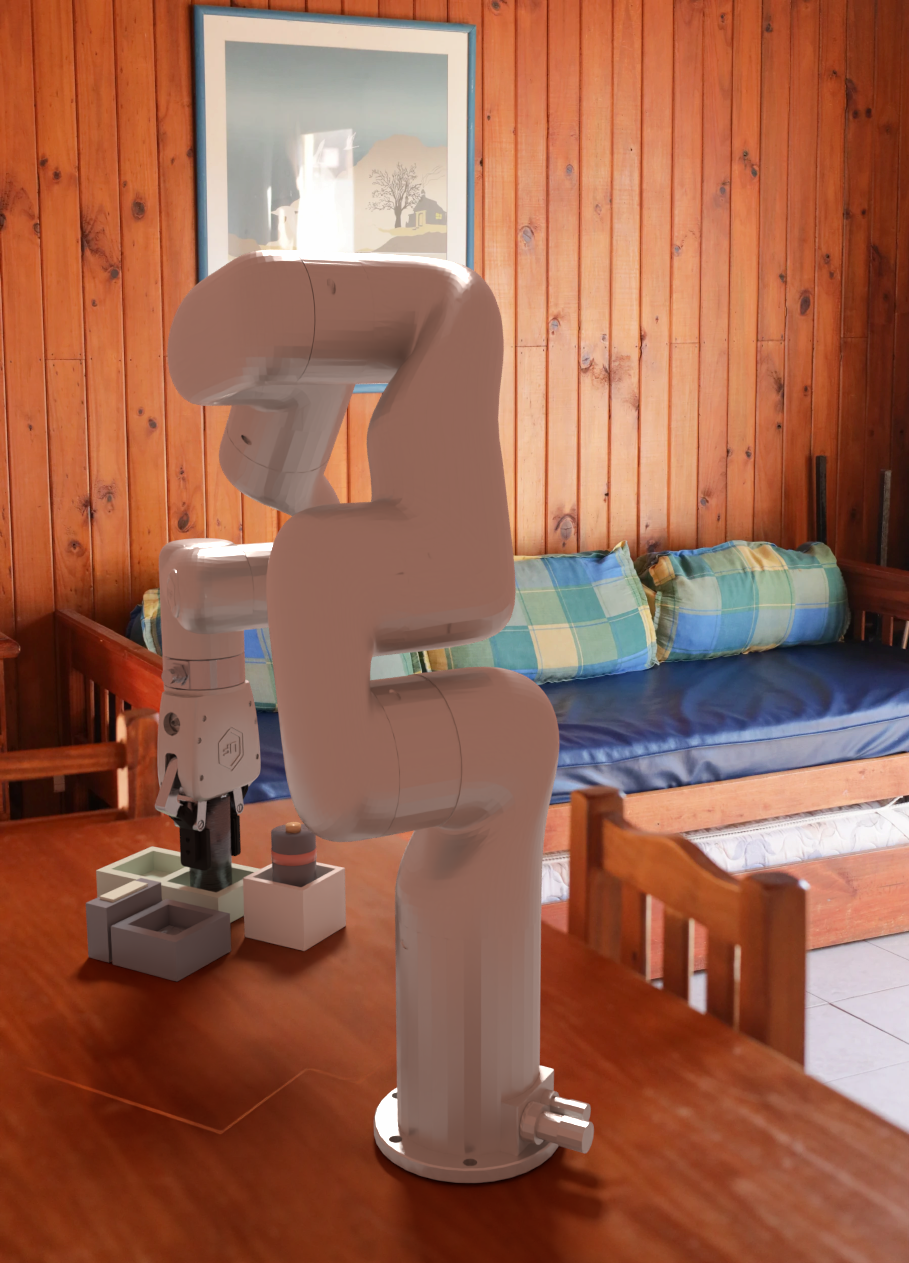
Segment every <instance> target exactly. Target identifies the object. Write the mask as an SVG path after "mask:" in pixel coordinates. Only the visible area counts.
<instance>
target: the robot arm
mask: <svg viewBox="0 0 909 1263" xmlns="http://www.w3.org/2000/svg"><path fill="white" fill-rule="evenodd" d="M502 319H503V318H502V315H501V312H500V308H499V305H498V302H497V299H496V297H495V295H494V291H493V290H492V289H491V287H490V285H489V284H488V283H487V282H486V280H485V279H484V278H483V277H482V276H481V274H479V273H478V272H477V271H475V270H473V269H472V268H470V267H468V266H466V265H463V264H461V263H458V262H454V261H450V260H447V259H439V258H433V257H432V258H431V257H425V256H414V255H413V256H412V255H400V254H383V253H364V252H362V253H360V252H358V253H357V252H356V253H354V252H353V253H351V252H350V253H348V252H346V253H345V252H325V251H310V250H304V251H303V250H290V249H287V250H286V249H285V250H284V249H266V250H265V249H264V250H263V249H262V250H256V251H255V250H254V251H251V252H246V253H244V254H240V255H239V256H238V257H236V258H233V259H232V260H230V261H229V262H228V263H226V264H224V265H223V266H221V267H220V268H218V269H216V270H215V271H214V272H213V273H211V274H209V275H208V276H206V277H204V278H203V279H202V280H201V281H199V282H198V283H197V284H195V285H194V286H193V287H192V288H190V290H189V291H188V293H186V295H185V296H184V298H183V299H182V301H181V302H180V304H179V305H178V308H177V310H176V312H175V314H174V316H173V319H172V323H171V325H170V328H169V333H168V338H167V351H166V353H167V365H168V372H169V376H170V378H171V383H172V384H173V386H174V388H175V389H176V391H177V393H178V394H179V395H180V396H181V397H182V399H183V400H186V401H187V402H189V403H190V404H192V405H197V406H202V407H203V406H206V407H208V406H209V407H210V406H212V407H213V406H215V407H216V406H218V407H219V406H224V407H225V406H230V410H229V414H228V416H227V417H228V418H227V420H226V423H225V427H224V431H223V434H222V438H221V441H220V445H219V448H218V449H219V450H218V462H219V465H220V468H221V471H222V472H223V475H224V476H225V477H226V479H227V481H228V482H230V484H231V485H232V486H233V487H234V488H235V489H236V490H238V491H239V492H240V493H242V494H243V495H244V496H246V497H248V498H249V499H251V500H253V501H255V502H257V503H260V504H261V505H263V506H267V507H269V508H271V509H274V510H277V511H279V512H281V513H283V514H286V515H289V516H291V517H289V518H288V519H287V520H286V521H285V522H284V523H283V525H282V526H281V527H280V529H279V531H278V532H277V534H276V536H275V537H274V540H273V541H272V542H269V541H268V542H255V543H241V544H238V543H236V544H235V543H234V542H233V541H230V540H228V539H223V538H222V539H221V538H213V537H212V538H211V537H205V538H204V537H203V538H202V537H200V538H194V537H193V538H185V539H184V538H183V539H178V540H177V539H176V540H171V541H169V542H168V543H165V545H164V546H162V548H161V550H160V552H159V554H158V579H159V601H160V602H159V603H160V622H161V623H160V625H161V626H160V627H161V647H162V673H161V677H160V678H161V679H162V680H161V681H162V682H163V691H162V693H161V699H160V703H159V704H160V706H159V713H158V714H159V715H158V727H157V748H156V749H157V752H156V753H157V756H156V757H157V777H158V784H159V791H158V793H157V794H158V795H157V797H156V799H155V803H154V808H155V810H156V811H158V812H160V813H162V814H165V815H167V816H168V817H169V818H170V819H171V820H172V821H173V825H174V826H175V827H177V828H179V830H178V831H179V850H180V851H179V852H180V857H181V864H182V865H183V866H185V867H189V868H194V869H199V870H203V871H206V870H208V869H210V867H211V849H210V830H209V829H208V828H204V827H205V818H206V804H207V800H210V799H213V798H215V797H218V796H220V795H223V794H225V793H228V794H229V795H230V820H231V854H232V857H237V856H240V855H241V853H242V852H241V851H242V850H241V849H242V848H241V844H242V843H241V817H240V814H242V813H243V812H244V808H245V804H244V799H245V797H246V795H247V793H248V790H249V787H250V786H251V785H252V783H253V782H254V781H255V780H256V779H257V778H258V777H259V775H260V773H261V747H260V735H259V734H260V733H259V725H258V716H257V710H256V705H255V699H254V698H255V697H254V695H253V691H252V690H253V689H252V687H251V684H250V681H249V680H247V679H246V659H245V658H246V655H245V650H246V649H245V631H246V630H247V631H248V630H249V631H250V630H256V629H267V628H268V631H269V634H268V635H269V642H270V643H269V644H270V649H271V658H272V665H273V666H272V668H273V676H274V685H275V695H276V701H277V702H276V703H277V704H276V705H277V712H278V713H277V714H278V722H279V730H280V731H279V732H280V738H281V739H280V740H281V741H280V742H281V747H282V754H283V755H282V756H283V763H284V772H285V776H286V781H287V782H286V783H287V787H288V791H289V794H290V798H291V801H292V804H293V807H294V809H295V812H296V813H297V815H298V818H299V819H300V820H301V822H302V824H304V825H305V826H306V827H307V828H308V829H309V830H310V831H311V832H312V833H313V834H315V835H316V837H318V838H321V839H322V840H326V841H329V842H332V843H333V842H334V843H348V842H349V843H351V842H358V841H359V842H360V841H364V840H365V841H366V840H371V839H379V838H383V837H388V836H393V835H400V834H405V833H410V832H412V835H411V836H410V838H409V841H408V843H407V845H406V846H405V850H404V852H403V855H402V857H401V860H400V863H399V867H398V870H397V875H396V880H395V887H394V918H395V919H394V921H395V922H394V925H395V926H394V928H395V929H394V931H395V932H394V933H395V935H394V936H395V940H394V941H395V943H394V944H395V1020H396V1021H395V1022H396V1026H395V1030H396V1040H395V1041H396V1088H394V1089H392V1090H391V1091H390V1092H389V1093H387V1094H386V1096H385V1097H384V1098H382V1099H381V1101H380V1102H379V1103H378V1105H377V1107H376V1108H375V1112H374V1115H373V1136H374V1139H375V1143H376V1145H377V1146H378V1147H377V1148H379V1150H380V1151H381V1153H382V1154H383V1155H384V1156H385V1157H386V1158H387V1159H388V1160H390V1161H391V1162H392V1163H394V1164H395V1165H397V1166H398V1167H400V1168H402V1169H403V1170H405V1171H407V1172H410V1173H412V1174H414V1175H417V1176H419V1177H422V1178H428V1179H431V1180H434V1181H437V1182H438V1181H440V1182H448V1183H453V1184H454V1183H455V1184H481V1183H490V1182H491V1183H492V1182H497V1181H498V1182H499V1181H501V1180H507V1179H511V1178H514V1177H517V1176H520V1175H523V1174H526V1173H528V1172H530V1171H532V1170H533V1169H535V1168H537V1167H539V1166H541V1165H542V1164H543V1163H545V1162H546V1161H548V1159H550V1158H551V1157H552V1156H553V1154H554V1153H555V1152H556V1150H557V1149H558V1148H559V1147H561V1148H564V1149H569V1150H573V1151H575V1152H579V1153H582V1154H588V1152H589V1151H590V1149H591V1146H592V1144H593V1140H594V1134H595V1128H594V1124H593V1122H592V1121H590V1117H591V1111H592V1110H591V1109H592V1108H591V1107H592V1106H591V1104H589V1103H587V1102H585V1101H584V1102H583V1101H580V1100H576V1099H573V1098H570V1099H568V1098H565V1097H561V1096H560V1095H559V1092H557V1090H556V1091H555V1090H554V1087H555V1086H554V1085H555V1084H554V1083H555V1069H554V1068H551V1067H547V1066H545V1065H540V1064H541V1062H540V1060H541V1058H540V1057H541V1056H540V1055H541V1053H540V1052H541V965H542V962H541V961H542V960H541V959H542V957H541V955H542V953H541V952H542V949H541V948H542V945H541V944H542V930H541V929H542V902H543V901H542V899H543V896H542V895H543V894H542V892H543V890H542V888H543V885H542V884H543V883H542V882H543V860H544V859H543V857H544V856H543V855H544V845H545V835H546V834H545V833H546V828H547V820H548V814H549V813H548V812H549V809H550V803H551V799H552V794H553V789H554V784H555V780H556V776H557V769H558V763H559V758H560V757H559V756H560V754H559V753H560V731H559V730H560V729H559V724H558V718H557V716H556V712H555V710H554V706H553V704H552V703H551V700H550V699H549V697H548V696H547V694H546V693H545V691H544V690H543V689H542V688H541V687H540V685H538V684H537V683H536V682H535V681H534V680H532V679H531V678H529V677H528V676H526V675H524V674H522V673H520V672H517V671H515V670H512V669H511V670H510V669H507V668H503V667H496V666H495V667H493V666H468V667H460V668H459V667H458V668H452V669H451V668H449V669H445V670H436V671H428V672H419V673H412V674H408V675H401V676H394V677H393V676H392V677H386V678H385V677H384V678H377V679H371V667H372V659H373V658H374V657H383V656H392V655H400V654H407V653H418V652H426V651H434V650H435V651H436V650H441V649H448V648H454V647H461V646H466V645H471V644H475V643H478V642H483V641H485V640H487V639H491V638H492V637H494V636H497V634H499V633H500V632H502V630H503V629H505V628H506V626H507V625H508V623H509V622H510V620H511V618H512V617H513V616H512V615H513V612H514V608H515V604H516V590H517V588H516V572H515V559H514V558H515V557H514V549H513V538H512V531H511V521H510V514H509V513H510V512H509V504H508V495H507V487H506V478H505V469H504V460H503V453H502V447H501V446H502V445H501V440H500V426H499V425H500V424H499V423H500V422H499V412H500V411H499V409H500V393H501V383H502V377H503V376H502V374H503V366H504V354H505V352H504V349H505V348H504V347H505V345H504V344H505V342H504V341H505V340H504V330H503V329H504V328H503V327H504V326H503V320H502ZM361 384H362V385H368V384H369V385H370V384H387V385H386V387H385V389H383V392H382V393H381V396H380V398H379V399H378V402H377V404H376V406H375V407H374V409H373V412H372V414H371V417H370V419H369V423H368V426H367V430H366V431H367V432H366V453H367V460H368V461H367V462H368V468H369V474H370V476H369V477H370V486H371V488H370V490H371V498H370V499H371V500H370V501H362V502H361V501H360V502H357V501H356V502H341V501H340V499H339V497H338V495H337V493H336V491H335V490H334V488H333V486H332V484H331V483H330V480H329V479H327V477H326V476H325V472H326V469H327V466H328V463H329V460H330V458H331V455H332V452H333V450H334V447H335V444H336V441H337V438H338V435H339V433H340V430H341V426H342V424H343V422H344V418H345V416H346V412H347V409H348V407H349V405H350V402H351V398H352V395H353V393H354V390H355V386H356V385H361ZM188 802H191V803H194V810H193V812H192V811H191V810H190V809H189V808H188Z"/></svg>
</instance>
